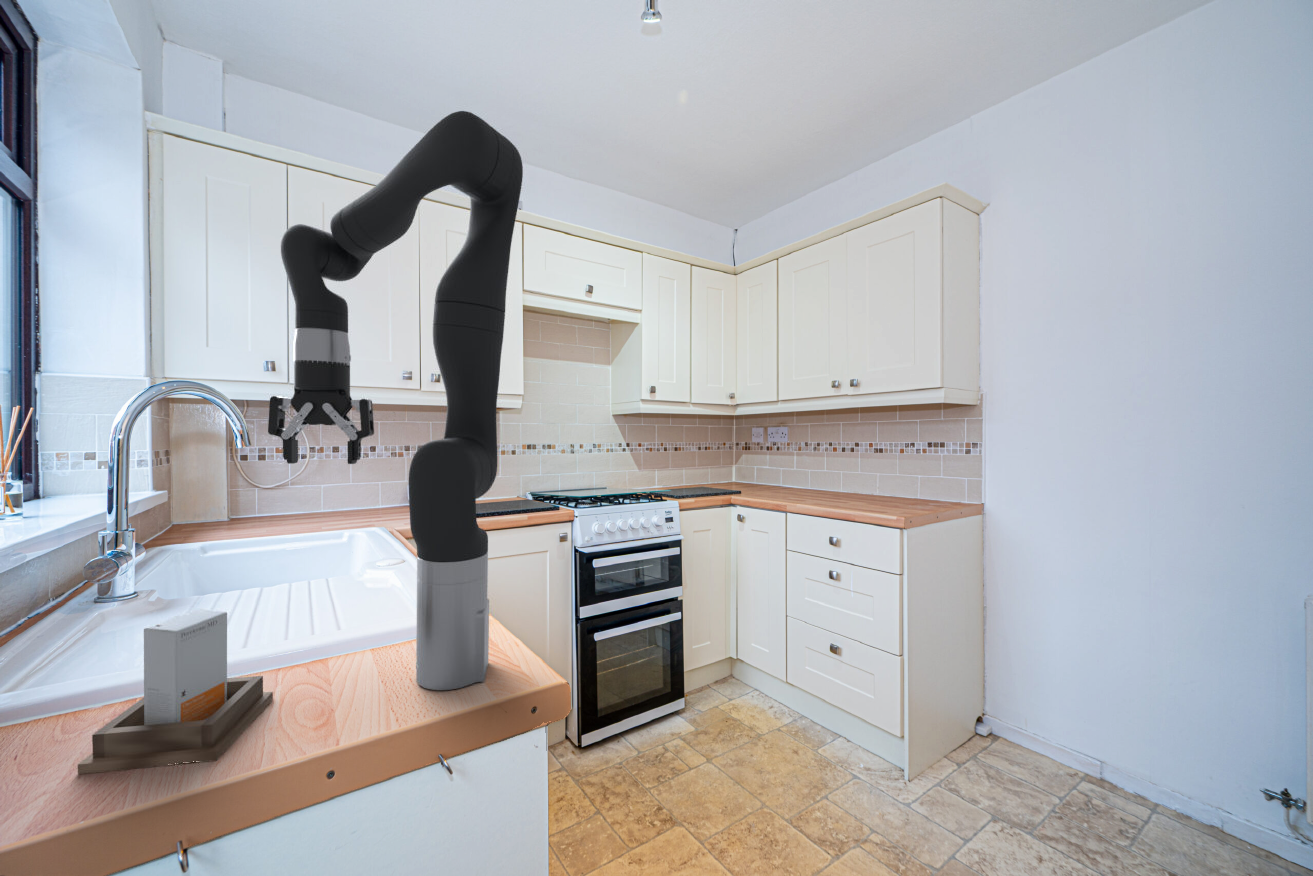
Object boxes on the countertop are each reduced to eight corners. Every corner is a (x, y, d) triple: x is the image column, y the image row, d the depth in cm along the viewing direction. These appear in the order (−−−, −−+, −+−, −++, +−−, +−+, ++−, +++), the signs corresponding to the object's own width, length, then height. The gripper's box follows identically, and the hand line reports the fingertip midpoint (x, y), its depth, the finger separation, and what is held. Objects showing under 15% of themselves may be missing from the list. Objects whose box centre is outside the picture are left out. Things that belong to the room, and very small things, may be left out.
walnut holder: (272, 699, 67) (272, 672, 67) (216, 760, 56) (216, 727, 56) (161, 708, 65) (160, 680, 65) (77, 774, 53) (76, 740, 53)
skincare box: (176, 741, 57) (174, 631, 56) (143, 736, 58) (140, 628, 57) (230, 710, 63) (228, 611, 62) (199, 706, 64) (197, 607, 63)
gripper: (258, 356, 78) (259, 465, 79) (364, 360, 81) (364, 466, 82) (282, 360, 86) (283, 461, 86) (378, 364, 89) (378, 461, 90)
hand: (322, 463), depth 84 cm, fingers open, 8 cm apart
